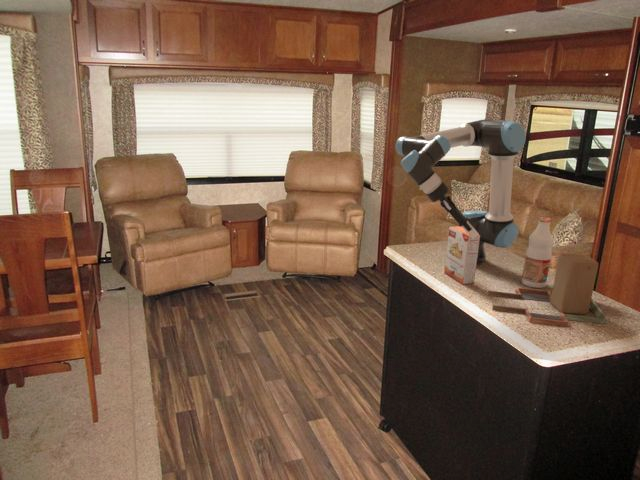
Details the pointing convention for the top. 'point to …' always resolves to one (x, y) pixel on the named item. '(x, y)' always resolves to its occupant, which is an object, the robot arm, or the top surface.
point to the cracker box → (461, 255)
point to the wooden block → (574, 283)
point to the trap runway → (544, 318)
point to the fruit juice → (538, 255)
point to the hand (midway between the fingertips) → (475, 236)
